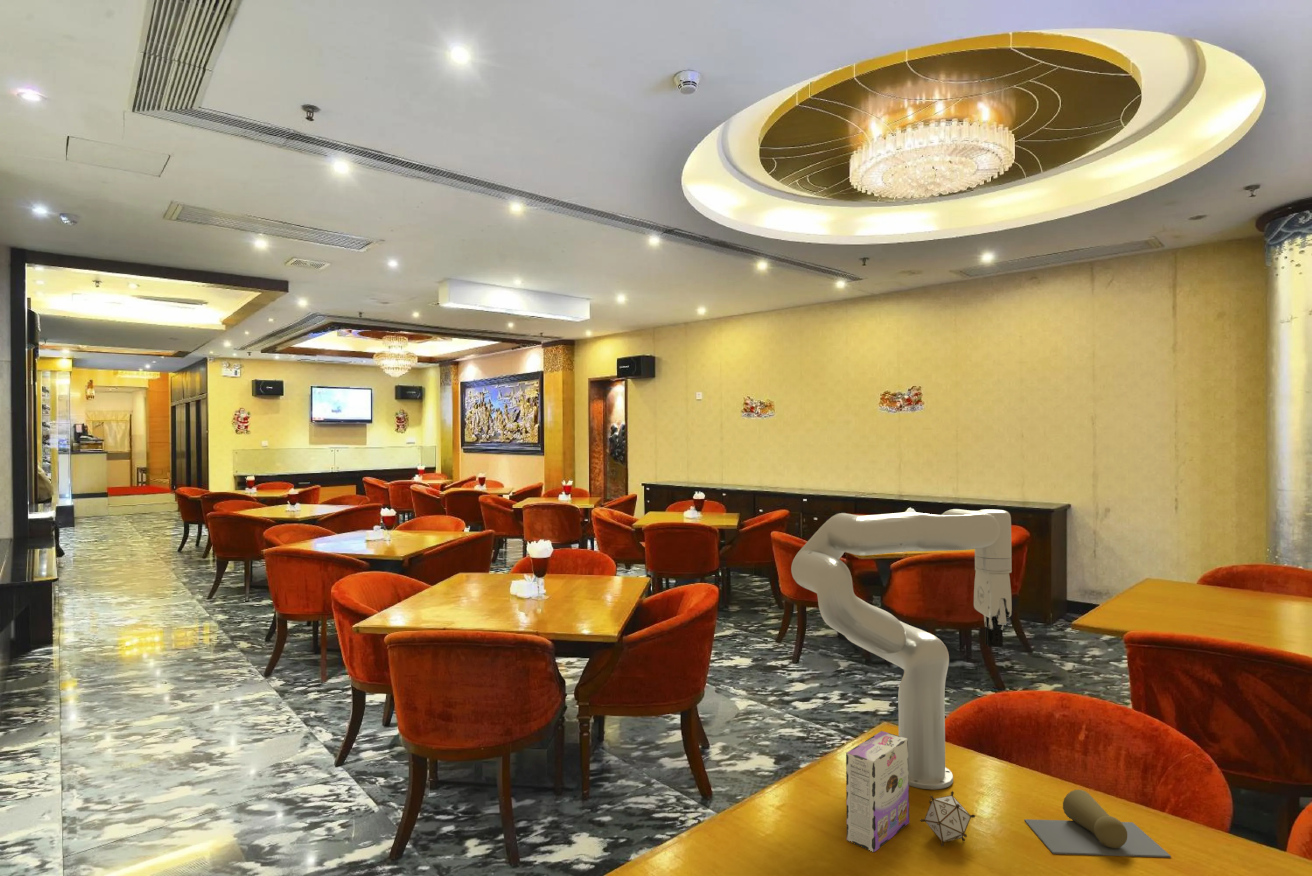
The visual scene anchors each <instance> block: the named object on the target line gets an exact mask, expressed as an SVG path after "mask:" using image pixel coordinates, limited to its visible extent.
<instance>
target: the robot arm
mask: <svg viewBox="0 0 1312 876" xmlns="http://www.w3.org/2000/svg"><path fill="white" fill-rule="evenodd" d="M969 550H974V571H975V576H974V582H973V583H974V584H973V585H974V587H973V588H974V589H973V608H974V610H976V612H978V613H980V614H982V615H983V621H984V622H983V623H984V636H985V637H984V644H985V646H986V645H987V647H990V648H992V647H993V648H1002V647H1003V644H1004V642H1003V639H1004V637H1003V629H1004V625H1005V626H1006V625H1007V619H1008V618H1009V619H1010V617H1011V616H1012V611H1013V609H1012V606H1013V605H1012V587H1011V577H1010V574H1012V571H1013V570H1012V569H1013V568H1012V516H1011V513H1010V512H1009V511H1007V510H1004V509H993V508H992V509H990V508H989V509H988V508H987V509H980V510H969V509H968V510H967V509H960V508H953V509H949V510H946V511H944V512H943V513H941V514H932V513H931V514H930V513H926V512H925V513H923V512H915V511H914V512H913V511H903V512H894V513H893V512H892V513H881V514H880V513H879V514H866V515H860V514H859V515H858V514H851V513H846V512H841V513H840V512H839V513H836V514H834V515H832V516H831V517H830V518H828V519H827V520H826V521H825V522H824V523H823V524H822V525H821V526H820V527H819V528H818V530H817V531H815V532H814V534H813V535H812V536H811V537H810V538H809V539H808V540H807V542H806V543H805V544H804V545H803V546H801V548H800V550H799V551H797V553H796V555H795V557H794V558H793V559H792V562H791V570H790V571H791V575H792V578H793V580H794V581H795V583H796V584H797V585H799V586H800V587H802V588H803V589H806V590H809V591H811V592H813V593H815V594H816V595H817V602H818V603H817V605H818V609H819V612H820V615H821V618H822V620H823V621H824V622H825V624H826V625H827V626H828V627H830V628H831V629H833V630H834V631H836V632H838V633H840V634H841V635H843V636H844V637H845V638H846V639H847V640H848V641H849V642H851V643H852V644H854V645H856V646H857V647H860V648H862V649H863V650H866V651H867V652H869V653H872V654H874V655H875V656H877V657H880V658H882V659H883V660H886V661H887V662H889V663H892V664H893V665H895V666H898V667H899V668H900V669H902V670H903V676H902V678H901V680H900V683H899V687H898V693H897V695H898V697H897V700H898V701H897V703H898V705H897V706H898V708H897V709H898V736H900V737H903V738H907V739H908V780H909V787H913V788H918V789H921V790H942V789H946V788H948V787H950V786H951V785H952V784H953V783H954V775H953V772H952V771H951V769H949V768H948V767H946V723H945V722H946V719H945V716H946V715H945V713H946V711H945V710H946V708H945V707H946V706H945V705H946V704H945V695H946V694H945V691H946V690H945V689H946V680H947V674H948V670H949V666H950V665H949V664H950V656H949V651H948V648H947V646H946V644H944V642H943V641H942V640H941V639H940V638H938V637H937V636H936V635H934V634H932V633H931V632H927V631H926V630H923V629H921V628H918V627H915V626H912V625H909V624H908V623H905V622H903V621H901V620H899V619H898V618H897V617H896V616H894V615H893V614H892V613H890V612H889V611H886V610H884V609H882V608H880V607H877V606H875V605H874V604H873V605H872V604H870V603H868V602H866V601H865V600H863V599H861V598H860V597H858V596H857V595H856V594H855V592H854V584H853V577H852V575H851V571H850V569H849V567H848V565H847V564H846V563H845V562H843V561H842V560H841V557H842V556H843V555H844V553H847V554H852V555H855V556H872V555H873V556H874V555H882V554H892V553H893V554H894V553H903V552H904V553H905V552H906V553H907V552H936V551H942V552H943V551H944V552H945V551H947V552H949V551H950V552H951V551H969Z"/></svg>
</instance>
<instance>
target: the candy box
mask: <svg viewBox="0 0 1312 876" xmlns="http://www.w3.org/2000/svg"><path fill="white" fill-rule="evenodd" d="M845 757H846V758H845V764H846V765H845V766H846V767H845V768H846V769H845V771H846V773H845V774H846V775H845V776H846V777H845V780H846V781H845V782H846V784H845V785H846V787H845V788H846V789H845V790H846V796H845V797H846V799H845V801H846V802H845V803H846V841H848V842H850V841H851V842H850V843H852V842H853V843H852V844H854V843H855V844H854V845H857V846H858V845H859V846H858V847H860V846H862V847H861V848H863V849H864V848H866V849H865V850H867V849H868V851H869V850H870V851H869V852H871V851H872V852H871V853H876V851H878V850H879V849H880V848H881V847H882V846H884V845H885V844H886V843H887V842H888V841H889V840H891V839H892V838H893V837H894V836H895V835H896V834H898V833H899V832H900V831H901V830H902V829H903V828H905V827H906V826H907V825H909V824H910V797H909V796H910V795H909V792H910V791H909V788H910V786H909V780H908V739H907V738H903V737H900V736H899V735H896V734H892V733H889V732H886V731H882V730H881V731H879V732H877V733H876V734H874V735H873V736H871V737H870V738H867V740H865V741H863V742H862V743H860V744H858V745H856V746H854V747H853V748H851V749H850V750H848V751H847V752H846V753H845Z"/></svg>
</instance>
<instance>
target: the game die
mask: <svg viewBox="0 0 1312 876" xmlns="http://www.w3.org/2000/svg"><path fill="white" fill-rule="evenodd" d="M954 794H955V792H954V790H952V791H951V792H950V795H946V796H941V797H936V798H934V796H933V795H931V794H929V798H930V799H931V800H928V803H929V807H928V808H927V809H928V810H927V812H926V814H925V817H924V818H921V819H919V822H921V823H923V822H925V824H926V825H927V826H928V827H929V828H930V829H931V830H932V832H933V833H934V834H935V835H936V836H937V838H938V839H939V840H940V841H941V843H940V846H941V848H943V847H944V845H945V843H946V842H947V843H948V842H951V841H956V840H962V842H964V843H966V838H967V837H968V835H967V834H966V830H967V828H968V826H969V823H970V821H971V819H973V818H974V819H975V817H976V815H975V814H970V813H969V812H968V811H967V809H965V807H964V806H963V805H962V804H961V803H960V802H959V801H958V799H956V798H955V797H954Z"/></svg>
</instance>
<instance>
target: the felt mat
mask: <svg viewBox="0 0 1312 876" xmlns="http://www.w3.org/2000/svg"><path fill="white" fill-rule="evenodd" d="M1024 822H1025V824H1026V825H1027V826H1028V827H1029V828H1030V830H1031V831H1032V832H1033V833H1034V834H1035V835H1036V836H1037V837H1038V838H1039V840H1040V841H1041V842H1042V843H1043V844H1044V845H1045V846H1046V848H1047V849H1048V850H1049V851H1050V852H1051V853H1052V854H1053V855H1078V856H1080V855H1081V856H1083V855H1084V856H1107V857H1108V856H1110V857H1111V856H1112V857H1113V856H1114V857H1115V856H1116V857H1142V858H1144V857H1145V858H1148V857H1149V858H1172V856H1171V855H1170V854H1169V853H1168V852H1167V851H1166V850H1165V849H1164V848H1163V847H1161V845H1159V844H1158V843H1157V842H1155V840H1153V839H1152V838H1151V836H1149V834H1148V835H1147V834H1146V833H1145V832H1144V831H1143V830H1142V829H1141V828H1140V827H1139V826H1137V825H1136V823H1134V822H1133V821H1132V822H1130V821H1121V822H1122V824H1123V825H1124V826H1125V828H1126V830H1127V840H1126V842H1125V844H1124V845H1123V846H1121V847H1119V848H1109V847H1106V846H1105V845H1103V844H1102V843H1101V842H1100V841H1099V840H1098V839H1097V837H1096V836H1095V834H1094V833H1092V832H1091V831H1089V830H1087V829H1086V828H1084V827H1083V826H1081V825H1080V824H1078V823H1076V822H1075V821H1073V820H1059V819H1027V818H1026V819H1024Z"/></svg>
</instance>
